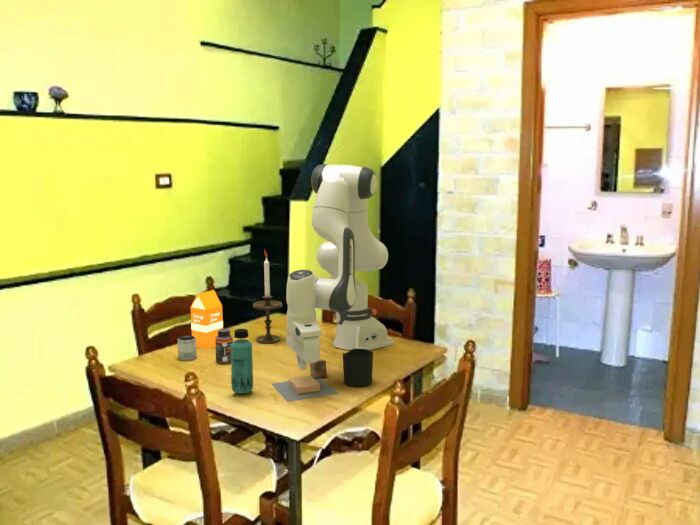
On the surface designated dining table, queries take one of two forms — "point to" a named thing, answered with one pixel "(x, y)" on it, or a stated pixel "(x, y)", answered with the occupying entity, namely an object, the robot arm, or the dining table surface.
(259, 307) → the candlestick
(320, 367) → the block
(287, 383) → the mat
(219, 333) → the supplement bottle
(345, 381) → the pen holder
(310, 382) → the tile
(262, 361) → the dining table surface
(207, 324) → the orange juice
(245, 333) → the beverage bottle
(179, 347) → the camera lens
